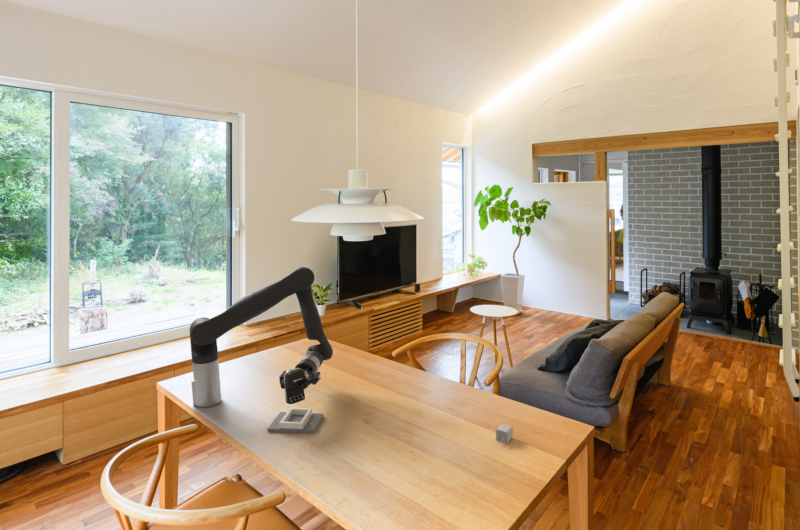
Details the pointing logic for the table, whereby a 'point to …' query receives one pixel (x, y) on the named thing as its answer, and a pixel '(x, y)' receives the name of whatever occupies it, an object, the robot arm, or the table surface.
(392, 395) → the table surface
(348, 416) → the table surface
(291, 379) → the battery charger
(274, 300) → the robot arm
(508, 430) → the usb wall charger
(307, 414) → the charging dock
